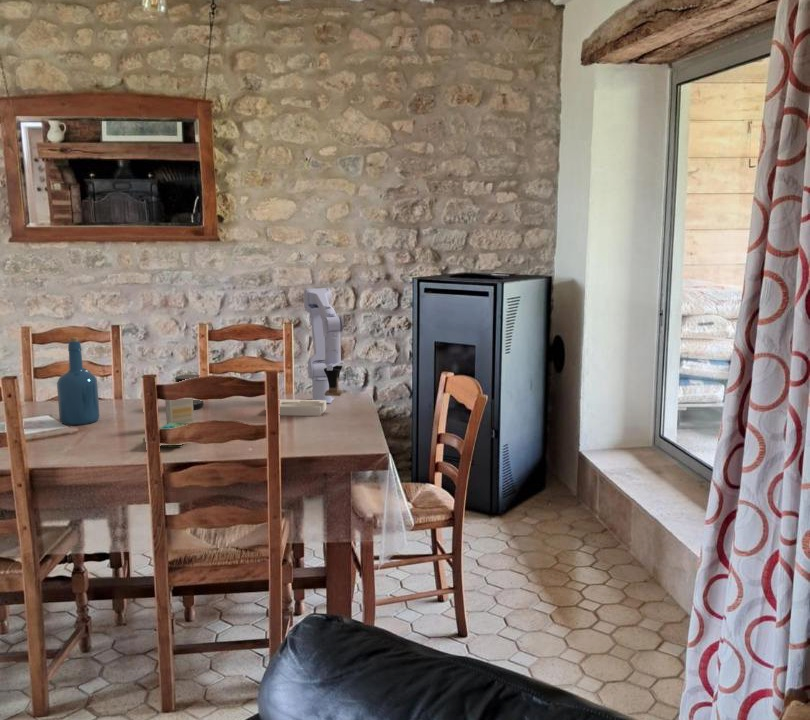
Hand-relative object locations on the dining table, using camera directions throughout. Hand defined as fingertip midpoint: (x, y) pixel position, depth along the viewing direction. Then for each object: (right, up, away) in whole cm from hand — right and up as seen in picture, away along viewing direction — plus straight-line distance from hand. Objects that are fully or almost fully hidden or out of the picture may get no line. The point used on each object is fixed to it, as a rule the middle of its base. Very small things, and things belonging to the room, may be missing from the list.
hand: (333, 386), depth 298 cm
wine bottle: (-88, -12, -10) cm, 90 cm away
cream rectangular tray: (-14, -9, +3) cm, 17 cm away
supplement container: (-55, -9, +11) cm, 57 cm away
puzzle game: (-47, -17, -38) cm, 63 cm away
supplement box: (-50, -14, -20) cm, 56 cm away
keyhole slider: (0, -3, 0) cm, 3 cm away
